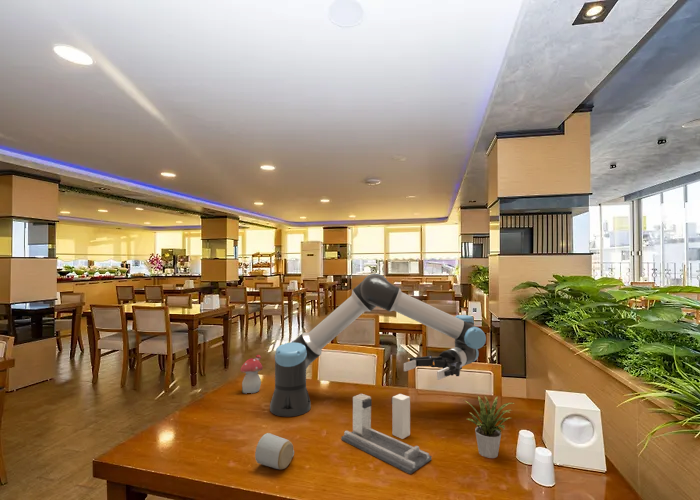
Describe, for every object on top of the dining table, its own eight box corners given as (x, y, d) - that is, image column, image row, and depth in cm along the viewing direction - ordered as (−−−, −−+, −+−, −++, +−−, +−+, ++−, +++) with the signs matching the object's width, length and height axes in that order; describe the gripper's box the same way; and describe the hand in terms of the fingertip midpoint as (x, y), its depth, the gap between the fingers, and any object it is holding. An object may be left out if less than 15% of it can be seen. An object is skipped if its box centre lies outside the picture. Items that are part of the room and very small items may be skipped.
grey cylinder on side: (279, 476, 94) (280, 445, 94) (254, 469, 97) (254, 439, 98) (301, 457, 104) (301, 429, 104) (277, 451, 107) (277, 424, 107)
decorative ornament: (261, 387, 160) (261, 353, 161) (263, 392, 154) (264, 356, 155) (239, 390, 157) (239, 355, 157) (240, 395, 151) (241, 358, 151)
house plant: (531, 459, 102) (530, 400, 103) (499, 474, 95) (498, 410, 96) (488, 438, 114) (487, 385, 115) (457, 450, 107) (456, 393, 108)
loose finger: (390, 434, 117) (390, 396, 118) (398, 430, 120) (398, 393, 121) (402, 439, 114) (402, 400, 114) (410, 434, 117) (409, 396, 117)
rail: (341, 439, 113) (341, 397, 114) (363, 429, 120) (363, 389, 121) (410, 474, 95) (410, 423, 95) (431, 459, 102) (431, 412, 102)
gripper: (483, 376, 131) (453, 391, 116) (424, 363, 149) (392, 374, 134) (483, 355, 131) (453, 367, 116) (424, 344, 149) (391, 353, 134)
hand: (420, 371), depth 125 cm, fingers open, 13 cm apart
